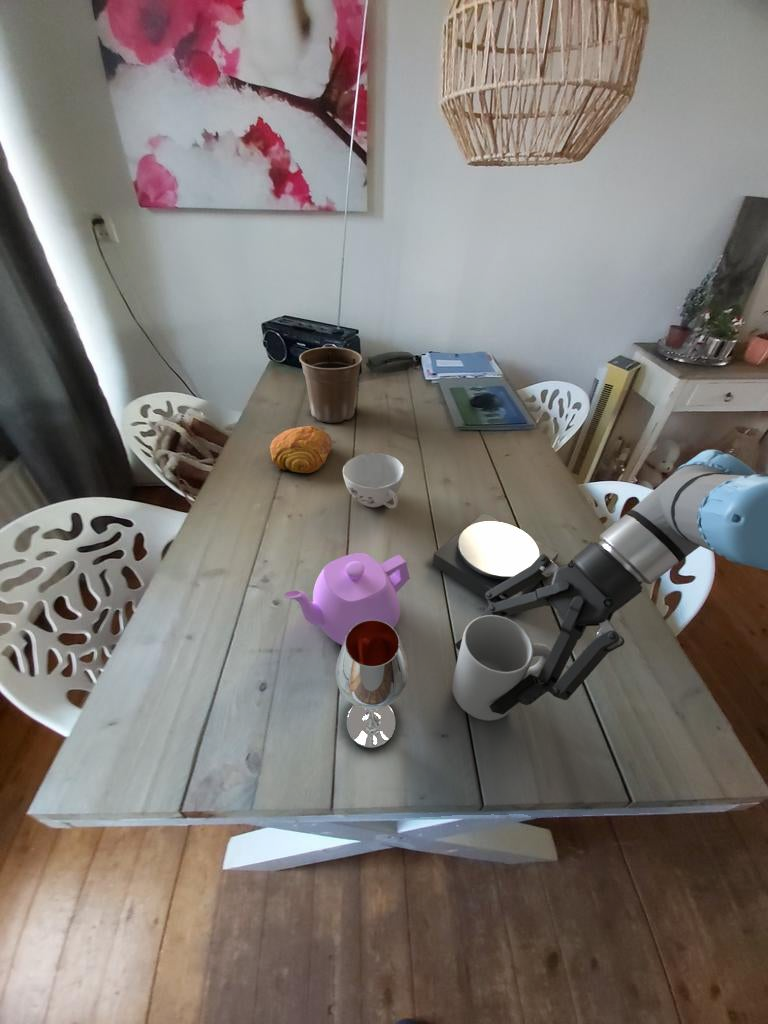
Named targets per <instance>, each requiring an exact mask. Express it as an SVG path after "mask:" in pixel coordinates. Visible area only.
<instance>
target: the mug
mask: <svg viewBox="0 0 768 1024" xmlns="http://www.w3.org/2000/svg"><path fill="white" fill-rule="evenodd" d="M461 639H462V642H461V647H460V650H459V651H458V652H459V653H458V656H457V660H456V665H455V669H454V671H453V672H454V673H453V677H452V682H451V687H452V694H453V697H454V699H455V701H456V703H457V704H458V705H459V707H460V708H461V709H462V710H463V711H464V712H465V713H467V714H468V715H470V716H471V717H473V718H476V719H479V720H482V721H497V720H500V719H502V718H504V717H505V716H507V715H508V714H509V713H510V712H512V710H513V708H514V707H512V708H511V709H510V710H508V711H507V712H506V713H505V714H503V715H502V714H498V713H494V712H492V711H491V709H490V707H489V706H490V705H491V704H493V703H494V702H495V701H496V700H498V699H499V698H500V697H502V696H503V695H504V694H505V693H507V692H508V691H509V690H511V689H512V688H513V687H514V686H516V685H517V684H518V683H520V682H521V681H522V680H523V679H525V678H526V677H527V676H529V675H530V674H531V675H534V676H536V677H538V676H539V674H540V672H541V670H542V668H543V666H544V664H545V662H546V660H547V658H548V656H549V654H550V652H551V648H550V647H549V646H548V645H547V644H545V643H533V642H532V639H531V637H530V636H529V634H528V632H527V631H526V630H525V629H524V628H523V627H522V626H521V625H520V624H518V623H517V622H515V621H513V619H512V620H511V619H510V618H508V617H506V616H505V617H501V616H496V615H487V616H481V617H479V616H478V617H476V618H474V619H473V620H471V621H470V622H469V623H468V625H467V626H466V627H465V629H464V632H463V635H462V638H461ZM534 657H540V659H539V660H538V661H537V663H535V664H534V665H532V663H533V658H534Z"/></svg>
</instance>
